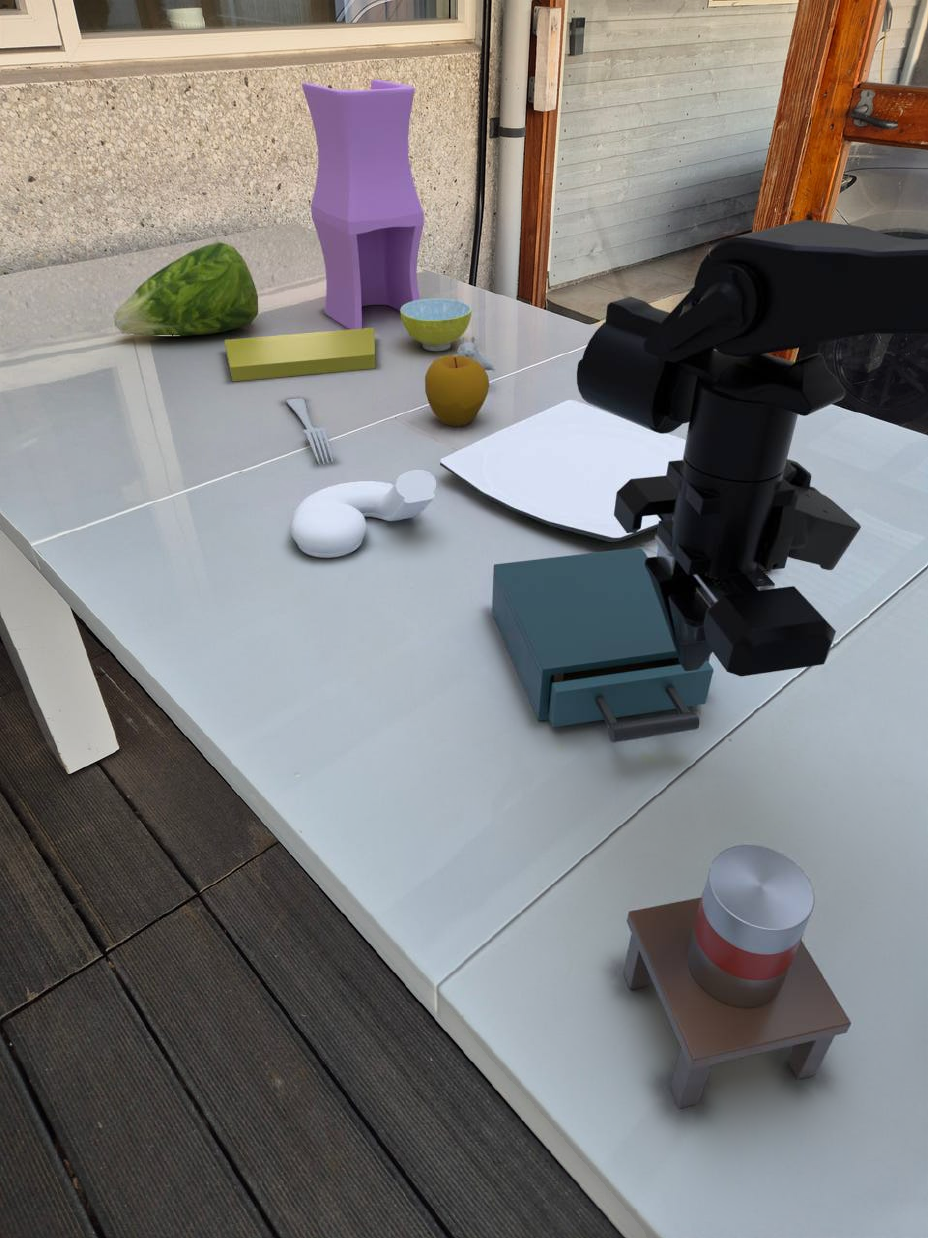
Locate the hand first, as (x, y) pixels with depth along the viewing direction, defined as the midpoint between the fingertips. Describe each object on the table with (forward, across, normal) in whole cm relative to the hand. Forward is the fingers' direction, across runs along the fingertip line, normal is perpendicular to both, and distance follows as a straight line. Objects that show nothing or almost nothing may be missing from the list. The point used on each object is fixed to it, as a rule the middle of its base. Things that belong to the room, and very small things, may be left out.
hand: (689, 667), depth 61 cm
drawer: (+11, +12, 0) cm, 17 cm away
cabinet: (+12, +17, 0) cm, 21 cm away
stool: (+12, -18, +4) cm, 22 cm away
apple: (+12, +69, +1) cm, 70 cm away
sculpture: (+12, +43, +18) cm, 48 cm away
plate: (+12, +49, -11) cm, 52 cm away
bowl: (+12, +98, -2) cm, 99 cm away
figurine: (+12, +80, -3) cm, 81 cm away
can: (+6, -18, +4) cm, 20 cm away
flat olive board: (+12, +96, +19) cm, 99 cm away
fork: (+12, +70, +21) cm, 74 cm away
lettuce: (+12, +112, +37) cm, 119 cm away
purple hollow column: (+12, +116, +6) cm, 117 cm away
